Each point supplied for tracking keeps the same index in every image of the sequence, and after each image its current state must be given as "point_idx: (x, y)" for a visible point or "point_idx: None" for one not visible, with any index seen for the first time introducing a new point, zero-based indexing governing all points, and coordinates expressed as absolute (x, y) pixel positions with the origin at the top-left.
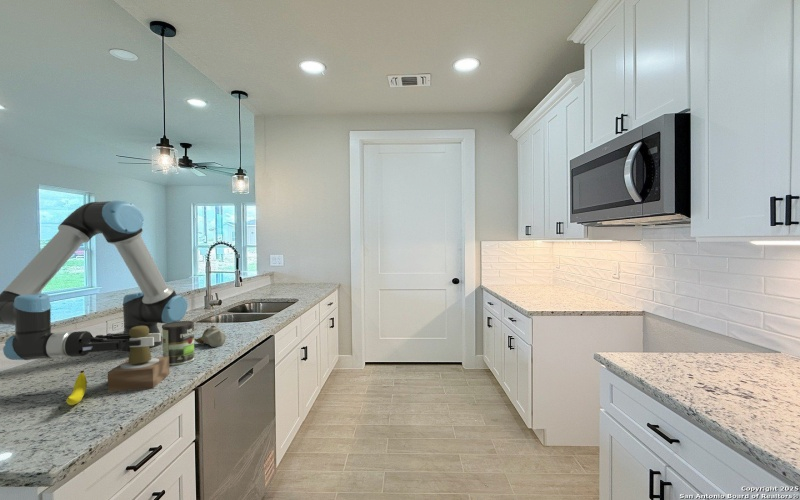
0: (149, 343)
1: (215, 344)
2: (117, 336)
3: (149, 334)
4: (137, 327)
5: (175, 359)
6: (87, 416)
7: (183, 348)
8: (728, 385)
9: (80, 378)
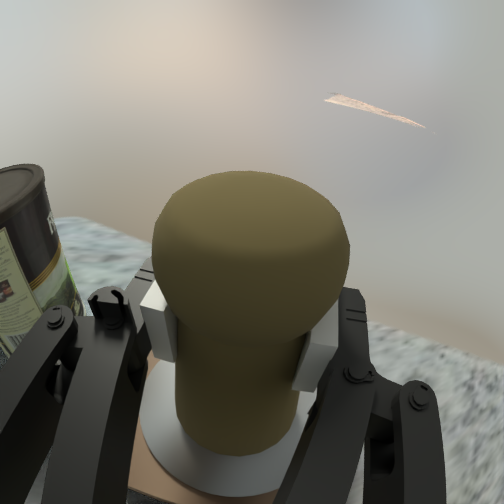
0: None
1: None
2: (89, 499)
3: None
4: (310, 201)
5: None
6: (487, 471)
7: (67, 268)
8: (380, 110)
9: None
